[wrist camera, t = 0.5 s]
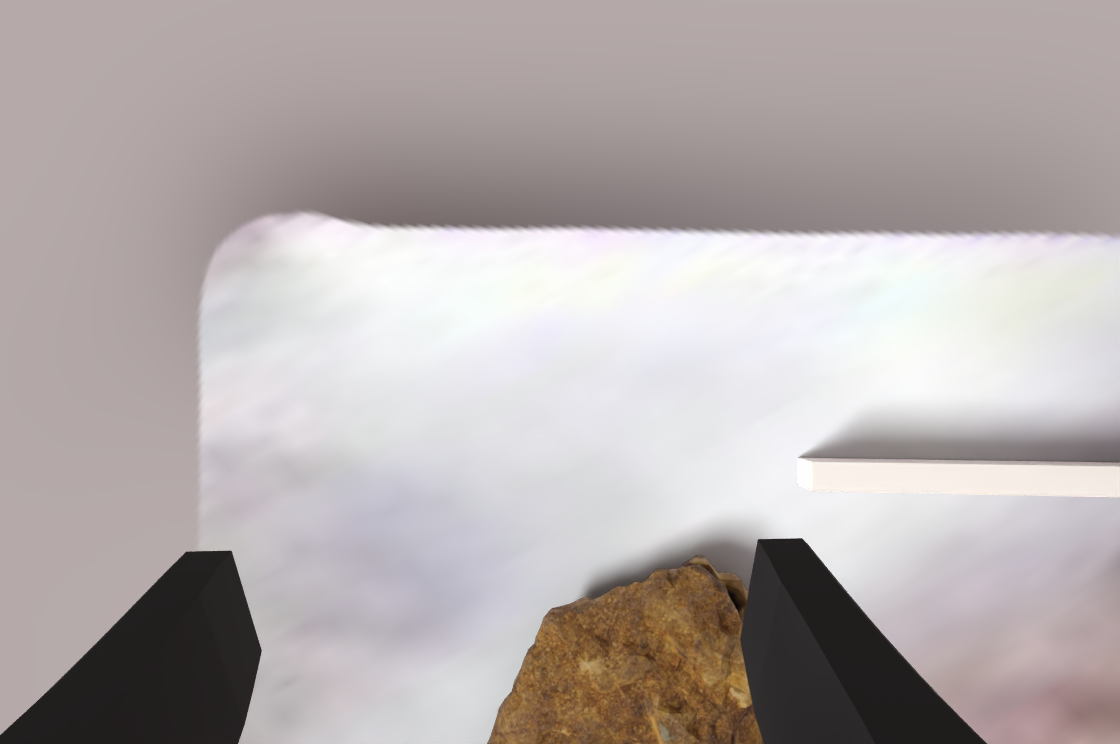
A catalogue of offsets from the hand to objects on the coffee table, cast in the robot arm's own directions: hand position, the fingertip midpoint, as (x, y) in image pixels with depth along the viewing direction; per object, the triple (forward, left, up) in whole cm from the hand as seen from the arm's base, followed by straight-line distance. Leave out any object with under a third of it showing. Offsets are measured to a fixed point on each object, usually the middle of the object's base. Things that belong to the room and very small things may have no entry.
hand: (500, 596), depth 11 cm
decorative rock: (-11, -2, -26) cm, 28 cm away
